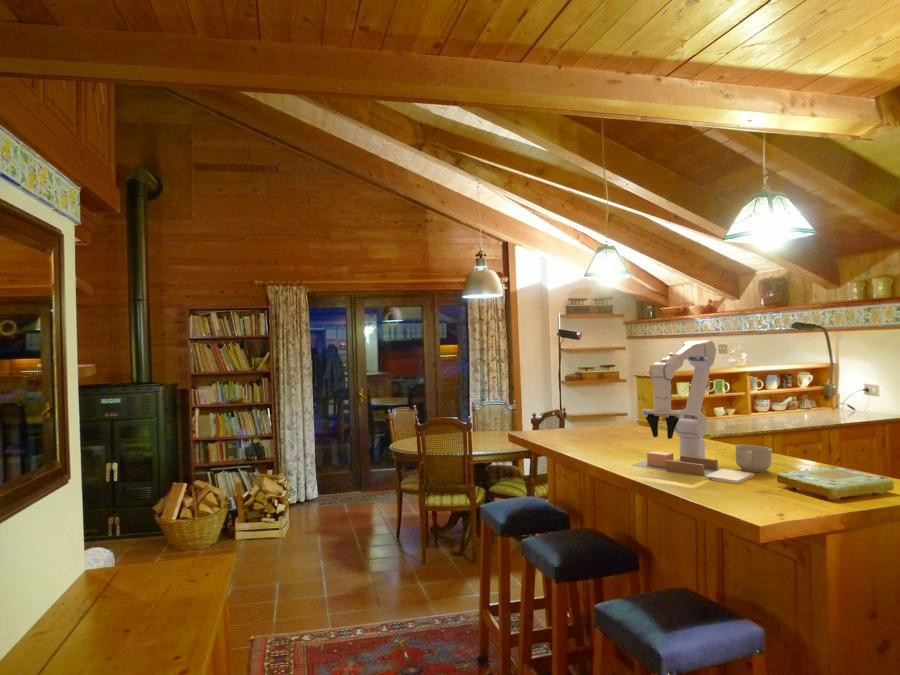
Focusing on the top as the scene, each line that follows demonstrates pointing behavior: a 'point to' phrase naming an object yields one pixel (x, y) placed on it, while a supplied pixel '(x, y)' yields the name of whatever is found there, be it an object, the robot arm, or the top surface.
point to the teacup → (753, 458)
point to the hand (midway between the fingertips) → (662, 437)
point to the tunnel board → (701, 469)
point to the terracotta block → (658, 458)
